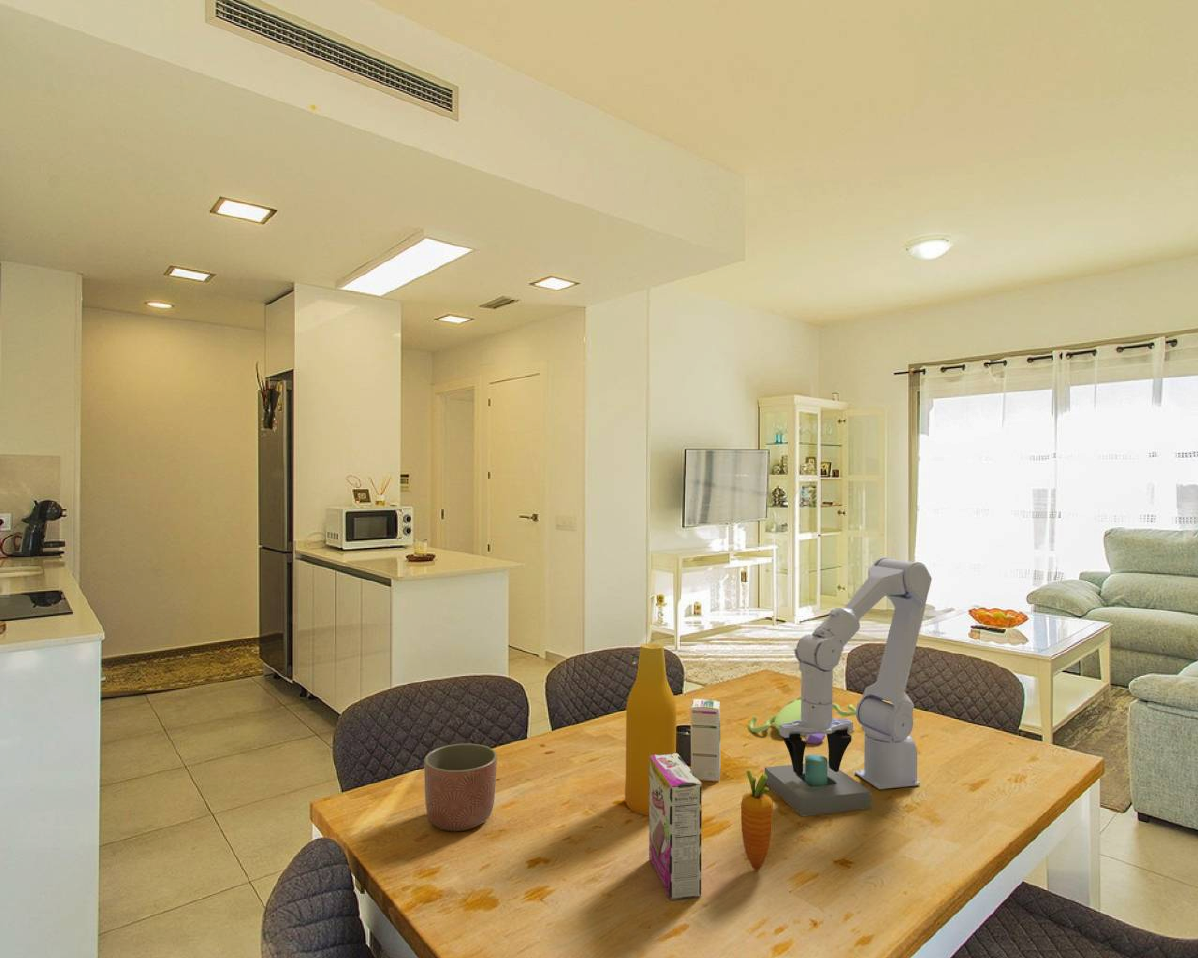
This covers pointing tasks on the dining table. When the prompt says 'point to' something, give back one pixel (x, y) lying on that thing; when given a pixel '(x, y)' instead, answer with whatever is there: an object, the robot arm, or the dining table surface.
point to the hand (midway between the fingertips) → (816, 771)
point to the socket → (818, 791)
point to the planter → (460, 785)
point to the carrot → (756, 821)
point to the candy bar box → (675, 825)
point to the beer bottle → (648, 724)
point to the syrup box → (705, 739)
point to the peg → (815, 770)
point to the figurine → (793, 714)
